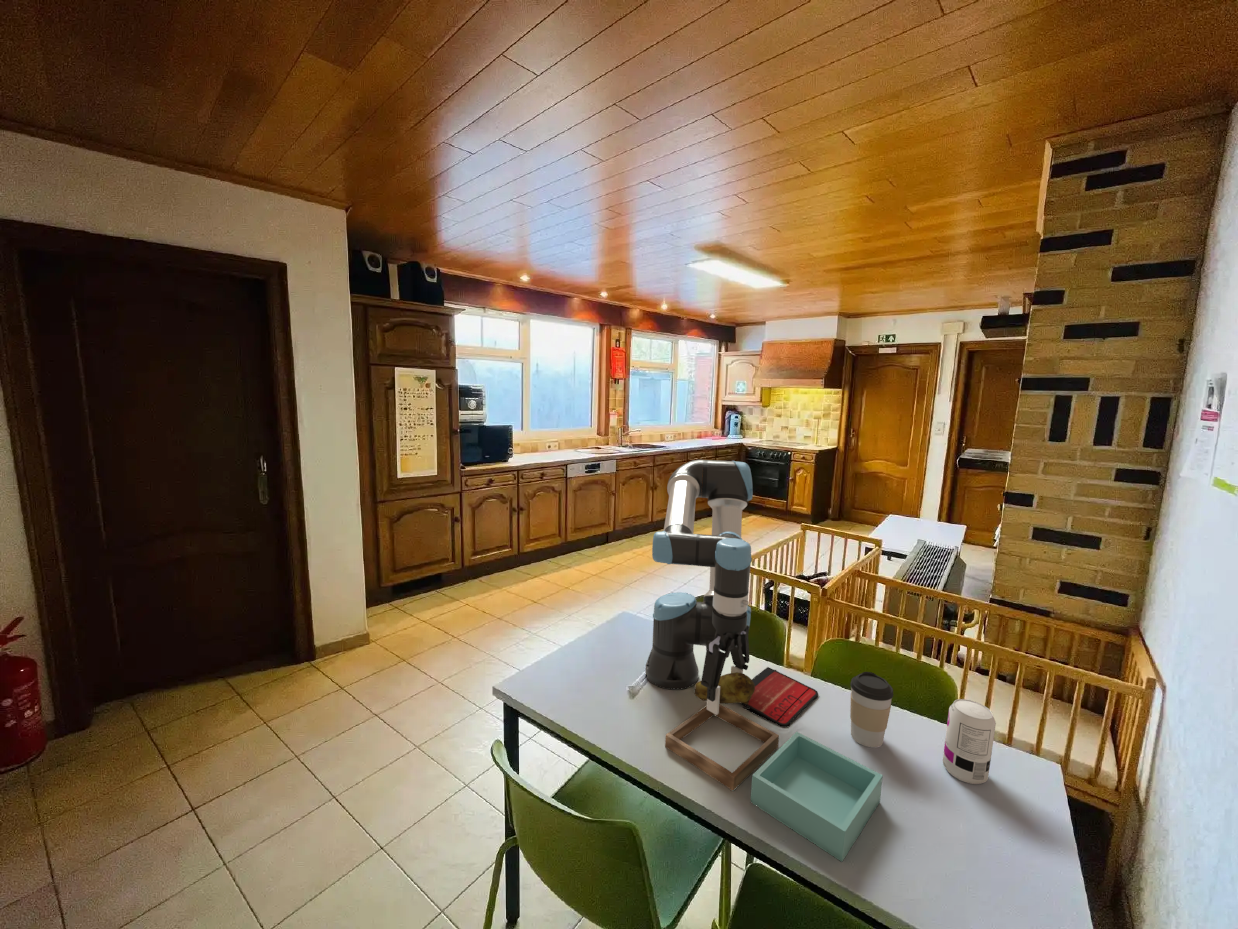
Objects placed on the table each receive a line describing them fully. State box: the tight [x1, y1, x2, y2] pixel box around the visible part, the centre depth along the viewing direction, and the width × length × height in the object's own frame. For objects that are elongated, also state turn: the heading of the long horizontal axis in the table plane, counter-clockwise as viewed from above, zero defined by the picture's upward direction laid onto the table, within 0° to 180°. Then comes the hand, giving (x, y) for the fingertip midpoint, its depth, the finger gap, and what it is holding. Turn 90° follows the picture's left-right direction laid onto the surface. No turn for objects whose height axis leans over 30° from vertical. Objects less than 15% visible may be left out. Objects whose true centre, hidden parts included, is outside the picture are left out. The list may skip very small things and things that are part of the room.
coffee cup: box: [849, 671, 894, 748], centre depth 121 cm, size 9×9×15 cm
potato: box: [693, 672, 755, 705], centre depth 116 cm, size 8×13×8 cm, turn 53°
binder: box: [740, 666, 819, 728], centre depth 137 cm, size 16×2×21 cm
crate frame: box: [664, 704, 780, 791], centre depth 117 cm, size 18×19×3 cm
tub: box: [750, 731, 884, 863], centre depth 102 cm, size 18×19×6 cm
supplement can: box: [942, 698, 997, 785], centre depth 110 cm, size 8×8×15 cm
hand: (724, 702), depth 116 cm, fingers closed on potato, 8 cm apart
